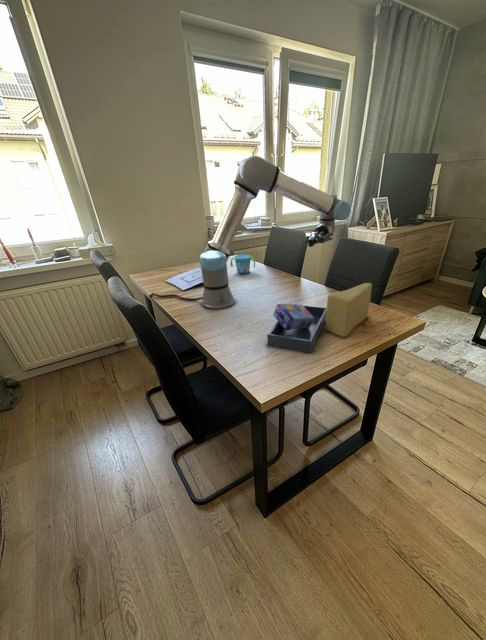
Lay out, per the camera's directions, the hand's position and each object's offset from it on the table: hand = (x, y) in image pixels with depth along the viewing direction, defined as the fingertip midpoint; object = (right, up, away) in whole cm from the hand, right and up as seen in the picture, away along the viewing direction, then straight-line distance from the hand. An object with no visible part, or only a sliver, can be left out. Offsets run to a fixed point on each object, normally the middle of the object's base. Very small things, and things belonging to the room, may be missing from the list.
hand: (310, 243), depth 113 cm
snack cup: (-32, +6, +65) cm, 72 cm away
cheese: (+16, -34, -2) cm, 37 cm away
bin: (-5, -36, -5) cm, 37 cm away
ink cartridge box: (-2, -30, -3) cm, 30 cm away
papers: (-60, -2, +54) cm, 81 cm away
